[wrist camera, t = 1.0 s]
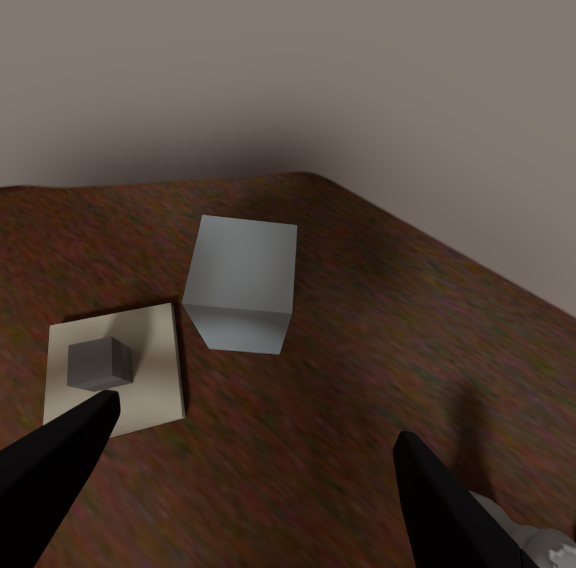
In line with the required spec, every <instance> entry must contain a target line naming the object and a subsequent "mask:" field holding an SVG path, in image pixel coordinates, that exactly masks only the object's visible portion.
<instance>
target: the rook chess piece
mask: <svg viewBox="0 0 576 568" xmlns="http://www.w3.org/2000/svg"><path fill="white" fill-rule="evenodd" d="M469 492H470V493H471V494H472V495H473V496H474V497H475V498H476V499H477V501H478V502H479V503H480V504H481V505H482V506H483V507H484V508H485V509H486V510H487V511H488V512H489V514H490V515H491V516H492V517H493V518H494V519H495V520H496V521H497V522H498V523H499V524H500V525H501V527H502V528H503V529H504V530H505V531H506V532H507V533H508V534H509V535H510V536H511V537H512V538H513V540H514V541H515V542H516V543H517V544H518V545H519V547H520V548H521V549H523V550H524V551H525V552H526V553H527V555H528V556H529V557H530V558H531V559H532V560H533V561H534V562H535V563H536V564H537V565H538V566H539V567H540V568H576V543H575V542H574V541H573V540H572V539H570V538H569V537H568V536H567V535H566V534H565V533H562V532H560V531H558V530H555V529H553V528H550V529H541V530H540V529H537V528H535V527H533V526H530V525H525V526H520V525H518V524H516V523H515V522H513V521H511V519H510V518H509V517H508V516H507V515H506V513H505V512H504V511H503V510H502V509H501V508H500V507H499V506H498V505H497V504H495V503H494V502H493V501H492V500H491V499H489V498H486V497H484V496H482V495H480V494H477V493H475V492H472V491H469Z"/></svg>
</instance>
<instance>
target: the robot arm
mask: <svg viewBox="0 0 576 568" xmlns="http://www.w3.org/2000/svg"><path fill="white" fill-rule="evenodd" d="M120 413H121V406H120V396H119V392H118V391H114V390H107V389H106V390H102V391H101V392H99V393H97V394H95V395H94V396H92V397H90V398H89V399H87V400H85V401H84V402H82V403H80V404H78V405H77V406H75V407H73V408H72V409H70V410H68V411H67V412H65V413H63V414H62V415H60V416H58V417H56V418H55V419H53V420H51V421H50V422H48V423H46V424H45V425H43V426H41V427H39V428H38V429H36V430H34V431H33V432H31V433H29V434H28V435H26V436H24V437H23V438H21V439H19V440H17V441H16V442H14V443H12V444H11V445H9V446H7V447H6V448H4V449H2V450H0V568H34V566H35V565H36V563H37V561H38V560H39V558H40V556H41V555H42V553H43V552H44V550H45V548H46V547H47V545H48V543H49V542H50V540H51V538H52V537H53V535H54V534H55V532H56V530H57V529H58V527H59V525H60V524H61V522H62V520H63V519H64V517H65V516H66V514H67V512H68V511H69V509H70V507H71V506H72V504H73V503H74V501H75V499H76V498H77V496H78V494H79V493H80V491H81V489H82V488H83V486H84V485H85V483H86V481H87V480H88V478H89V476H90V475H91V473H92V471H93V469H94V468H95V466H96V464H97V462H98V460H99V458H100V456H101V454H102V452H103V450H104V448H105V446H106V444H107V442H108V440H109V437H110V435H111V433H112V431H113V429H114V427H115V425H116V423H117V421H118V419H119V417H120ZM393 458H394V465H395V471H396V478H397V484H398V490H399V497H400V503H401V508H402V512H403V517H404V521H405V525H406V529H407V532H408V536H409V540H410V544H411V548H412V552H413V556H414V560H415V564H416V568H540V567H539V566H538V565H537V564H536V563H535V562H534V561H533V560H532V559H531V558H530V557H529V556H528V555H527V553H526V552H525V551H524V550H523V549H521V548H520V547H519V545H518V544H517V543H516V542H515V541H514V540H513V538H512V537H511V536H510V535H509V534H508V533H507V532H506V531H505V530H504V529H503V528H502V527H501V525H500V524H499V523H498V522H497V521H496V520H495V519H494V518H493V517H492V516H491V515H490V514H489V512H488V511H487V510H486V509H485V508H484V507H483V506H482V505H481V504H480V503H479V502H478V501H477V499H476V498H475V497H474V496H473V495H472V494H471V493H470V492H469V491H468V490H467V489H466V488H465V486H464V485H463V484H462V483H461V482H460V481H459V480H458V479H457V478H456V477H455V476H454V475H453V473H452V472H451V471H450V470H449V469H448V468H447V467H446V466H445V465H444V464H443V463H442V462H441V460H440V459H439V458H438V457H437V456H436V455H435V454H434V453H433V452H432V451H431V450H430V449H429V447H428V446H427V445H426V444H425V443H424V442H423V441H422V440H421V439H420V438H419V437H418V436H417V435H416V434H415V433H413V432H408V431H401V432H400V434H399V436H398V438H397V441H396V443H395V446H394V448H393Z"/></svg>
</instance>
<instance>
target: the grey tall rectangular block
mask: <svg viewBox="0 0 576 568" xmlns="http://www.w3.org/2000/svg"><path fill="white" fill-rule="evenodd" d="M296 240H297V225H291V224H282V223H272V222H263V221H254V220H245V219H235V218H226V217H217V216H208V215H202V219H201V223H200V228H199V232H198V236H197V241H196V245H195V249H194V253H193V258H192V262H191V266H190V271H189V275H188V279H187V284H186V288H185V292H184V297H183V301H182V305H183V306H184V308H185V310H186V311H187V313H188V315H189V316H190V318H191V320H192V321H193V323H194V324H195V326H196V328H197V329H198V331H199V333H200V334H201V336H202V338H203V339H204V341H205V343H206V344H207V346H208V348H209V349H219V350H231V351H243V352H256V353H268V354H280V351H281V348H282V344H283V341H284V338H285V335H286V332H287V329H288V325H289V322H290V319H291V316H292V308H293V291H294V274H295V257H296Z"/></svg>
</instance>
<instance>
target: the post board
mask: <svg viewBox="0 0 576 568" xmlns="http://www.w3.org/2000/svg"><path fill="white" fill-rule="evenodd" d="M106 389H107V390H114V391H118V392H119V396H120V406H121V413H120V417H119V419H118V421H117V423H116V425H115V427H114V429H113V431H112V433H111V435H110V437H114V436H118V435H122V434H125V433H129V432H133V431H137V430H141V429H144V428H148V427H152V426H156V425H160V424H163V423H167V422H171V421H175V420H178V419H182V418H185V409H184V400H183V390H182V381H181V372H180V362H179V353H178V343H177V334H176V325H175V315H174V307H173V305H172V304H171V303H166V304H161V305H156V306H151V307H146V308H140V309H135V310H130V311H125V312H119V313H114V314H109V315H104V316H98V317H93V318H88V319H83V320H77V321H72V322H67V323H62V324H57V325H51V326H50V335H49V349H48V363H47V378H46V392H45V406H44V421H43V425H45V424H46V423H48V422H50V421H51V420H53V419H55V418H56V417H58V416H60V415H62V414H63V413H65V412H67V411H68V410H70V409H72V408H73V407H75V406H77V405H78V404H80V403H82V402H84V401H85V400H87V399H89V398H90V397H92V396H94V395H95V394H97V393H99V392H101V391H102V390H106ZM110 437H109V438H110Z"/></svg>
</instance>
